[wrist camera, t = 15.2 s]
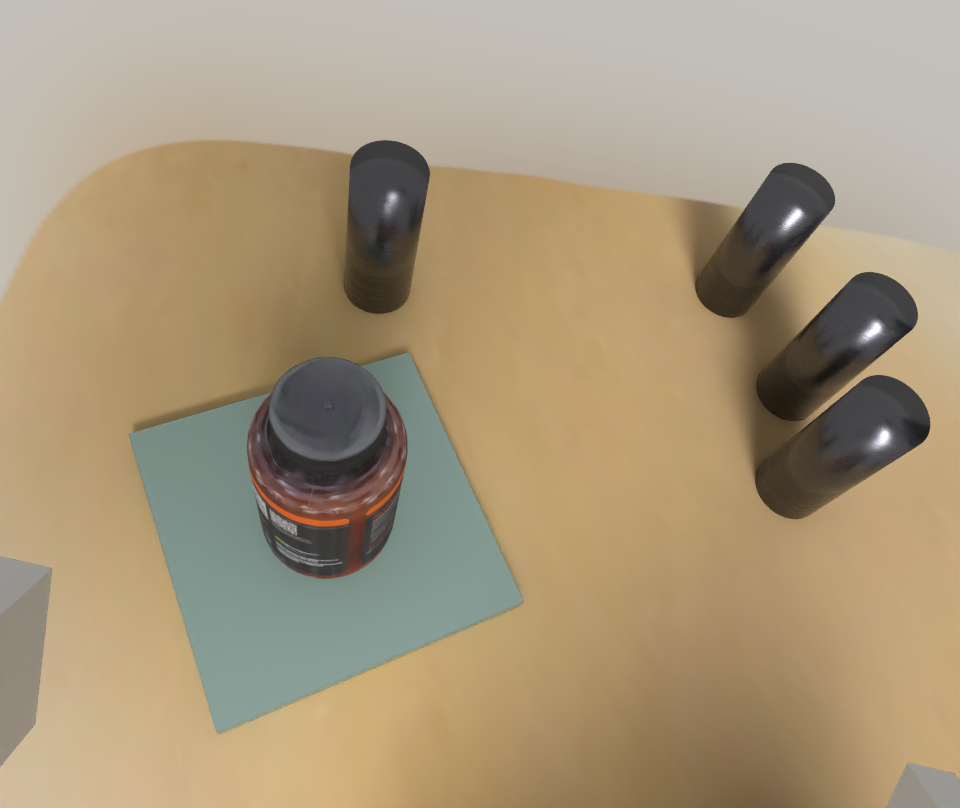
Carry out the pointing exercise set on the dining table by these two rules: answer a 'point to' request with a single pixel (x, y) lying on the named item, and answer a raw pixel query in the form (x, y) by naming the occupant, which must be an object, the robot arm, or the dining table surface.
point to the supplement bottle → (327, 467)
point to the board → (307, 600)
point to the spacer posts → (726, 292)
